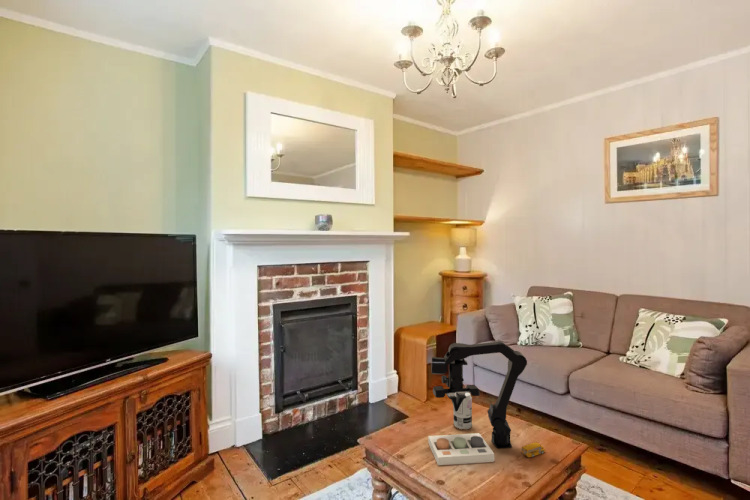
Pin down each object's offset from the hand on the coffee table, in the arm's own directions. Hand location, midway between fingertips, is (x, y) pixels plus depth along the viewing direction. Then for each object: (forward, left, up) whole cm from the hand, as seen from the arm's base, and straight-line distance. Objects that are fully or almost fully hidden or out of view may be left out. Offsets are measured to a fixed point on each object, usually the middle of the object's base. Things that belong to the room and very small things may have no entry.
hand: (456, 411), depth 162 cm
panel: (+1, +8, -13) cm, 15 cm away
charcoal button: (-6, +8, -11) cm, 15 cm away
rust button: (+8, +8, -11) cm, 16 cm away
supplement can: (-7, -13, -13) cm, 20 cm away
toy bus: (-28, +12, -14) cm, 33 cm away
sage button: (+1, +8, -11) cm, 14 cm away
